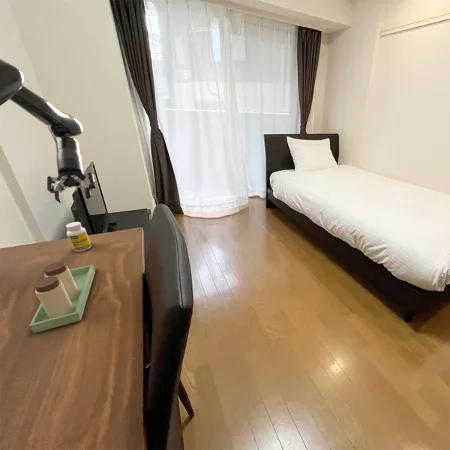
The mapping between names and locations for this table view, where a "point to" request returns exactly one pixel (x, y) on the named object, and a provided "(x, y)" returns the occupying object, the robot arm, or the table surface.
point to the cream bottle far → (53, 297)
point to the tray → (83, 283)
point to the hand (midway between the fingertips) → (74, 200)
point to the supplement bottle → (78, 237)
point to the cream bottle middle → (63, 277)
